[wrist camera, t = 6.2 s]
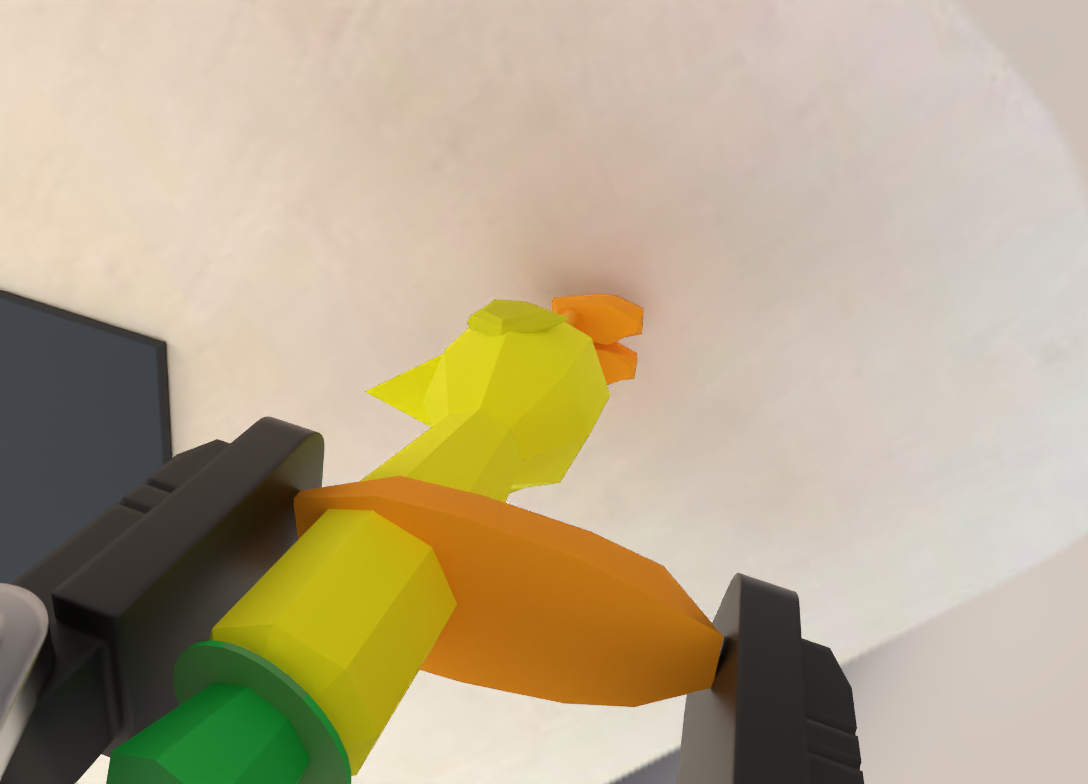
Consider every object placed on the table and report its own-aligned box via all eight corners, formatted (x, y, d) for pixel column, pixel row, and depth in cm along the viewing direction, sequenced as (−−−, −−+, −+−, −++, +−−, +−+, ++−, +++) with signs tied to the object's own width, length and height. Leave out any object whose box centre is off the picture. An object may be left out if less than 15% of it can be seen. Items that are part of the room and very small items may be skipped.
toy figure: (778, 281, 15) (699, 888, 5) (746, 437, 16) (637, 1137, 6) (460, 236, 16) (-119, 605, 6) (461, 382, 18) (6, 862, 8)
